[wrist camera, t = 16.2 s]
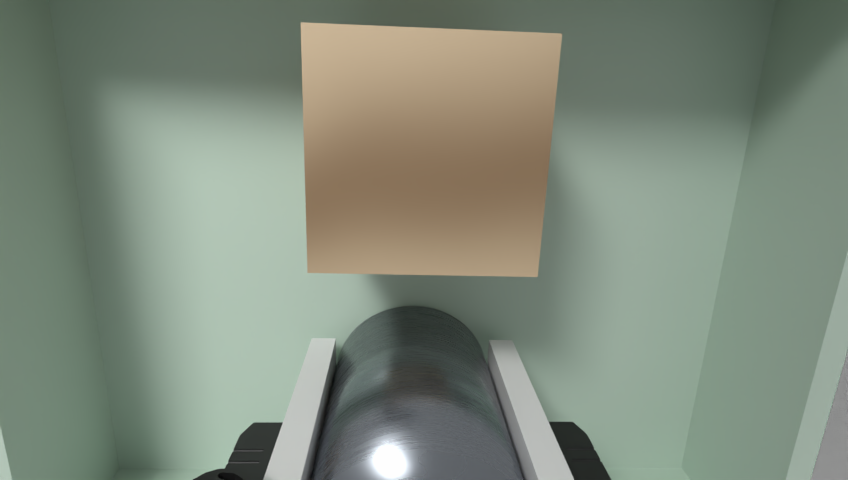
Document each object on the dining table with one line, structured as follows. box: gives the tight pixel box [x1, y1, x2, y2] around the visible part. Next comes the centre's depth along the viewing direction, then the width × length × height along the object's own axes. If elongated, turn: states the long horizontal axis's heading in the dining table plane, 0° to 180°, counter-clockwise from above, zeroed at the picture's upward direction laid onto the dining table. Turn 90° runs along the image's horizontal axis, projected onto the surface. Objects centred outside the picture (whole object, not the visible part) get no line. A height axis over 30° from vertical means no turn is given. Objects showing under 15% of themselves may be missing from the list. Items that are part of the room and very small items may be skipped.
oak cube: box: [301, 22, 562, 277], centre depth 13 cm, size 5×5×5 cm
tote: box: [0, 0, 848, 480], centre depth 15 cm, size 17×21×5 cm
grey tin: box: [310, 306, 524, 480], centre depth 14 cm, size 5×5×7 cm
